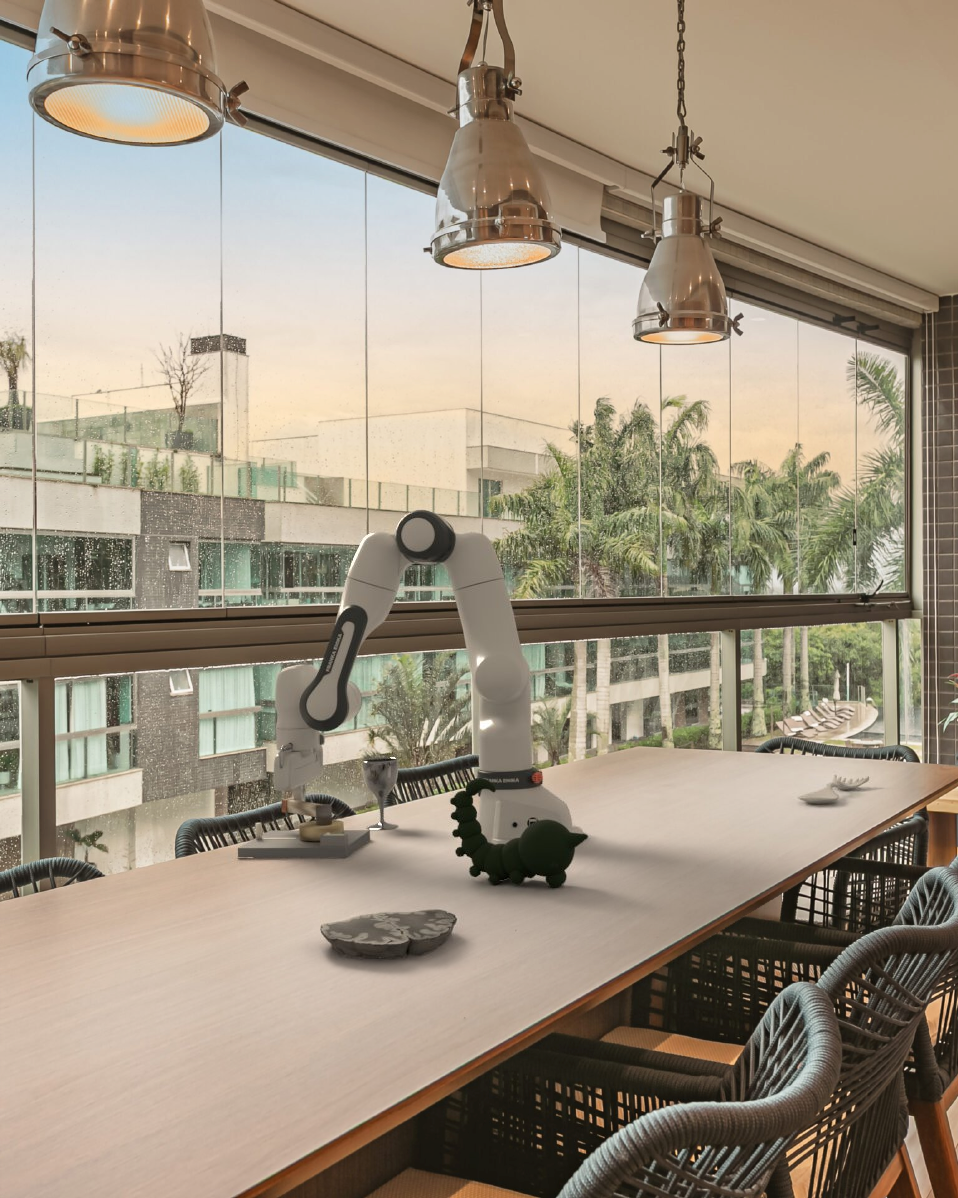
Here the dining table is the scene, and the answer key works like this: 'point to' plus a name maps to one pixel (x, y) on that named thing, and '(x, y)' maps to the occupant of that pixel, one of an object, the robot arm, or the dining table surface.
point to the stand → (303, 844)
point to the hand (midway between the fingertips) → (299, 806)
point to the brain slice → (390, 933)
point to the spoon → (831, 791)
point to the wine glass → (380, 783)
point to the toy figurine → (513, 844)
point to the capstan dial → (313, 828)
